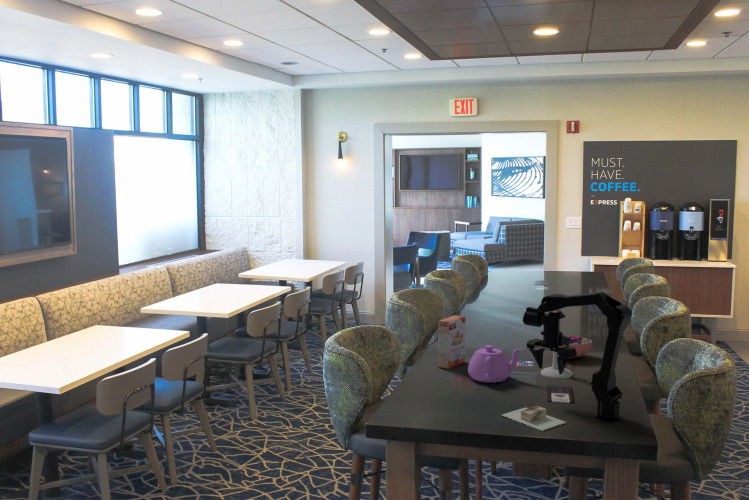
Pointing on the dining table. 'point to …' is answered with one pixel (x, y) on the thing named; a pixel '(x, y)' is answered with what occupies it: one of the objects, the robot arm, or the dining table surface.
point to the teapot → (491, 365)
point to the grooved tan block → (533, 414)
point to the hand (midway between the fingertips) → (550, 371)
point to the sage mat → (538, 424)
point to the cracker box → (451, 341)
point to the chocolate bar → (560, 394)
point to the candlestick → (556, 367)
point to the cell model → (579, 345)
